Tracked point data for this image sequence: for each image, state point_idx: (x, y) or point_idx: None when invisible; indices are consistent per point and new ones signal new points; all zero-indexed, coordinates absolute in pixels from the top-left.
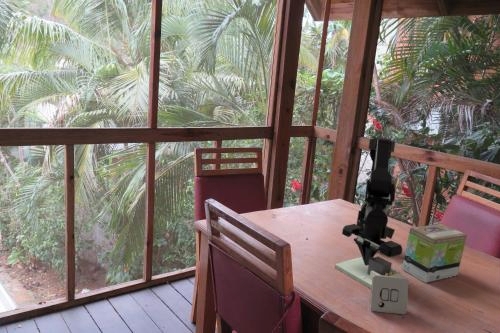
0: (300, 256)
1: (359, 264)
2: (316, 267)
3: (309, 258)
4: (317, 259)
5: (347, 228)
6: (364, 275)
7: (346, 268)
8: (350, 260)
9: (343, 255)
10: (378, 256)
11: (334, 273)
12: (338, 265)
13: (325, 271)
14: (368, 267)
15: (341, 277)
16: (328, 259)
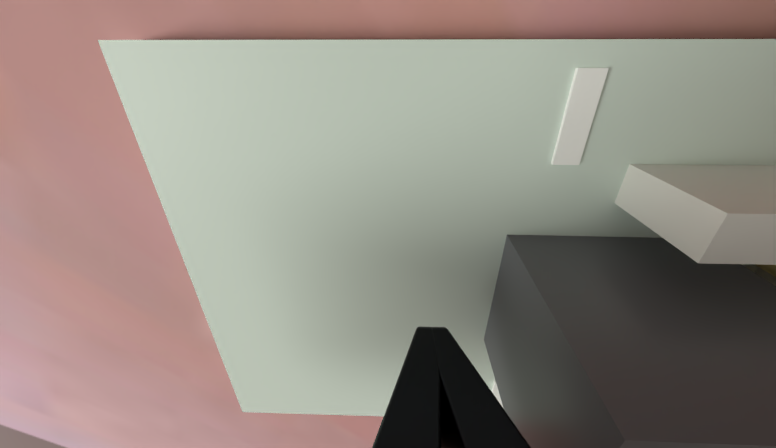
0: (64, 433)
1: (311, 269)
2: (222, 444)
3: (94, 414)
4: (111, 391)
5: None
6: (486, 372)
7: (330, 397)
8: (203, 281)
9: (13, 171)
10: (637, 441)
11: (321, 421)
12: (267, 407)
13: (281, 438)
14: (505, 402)
15: (379, 422)
16: (114, 339)
